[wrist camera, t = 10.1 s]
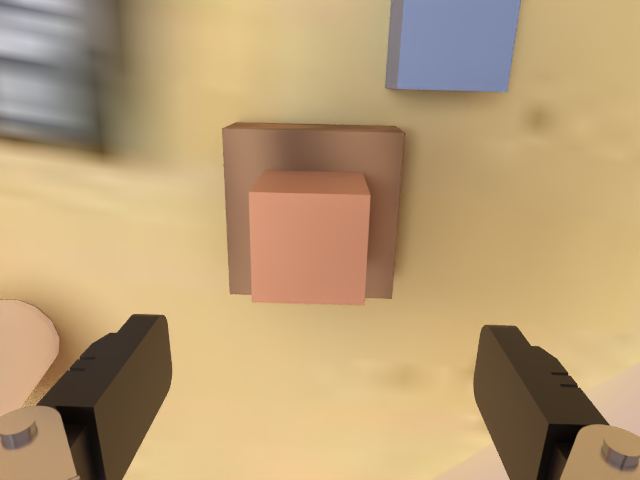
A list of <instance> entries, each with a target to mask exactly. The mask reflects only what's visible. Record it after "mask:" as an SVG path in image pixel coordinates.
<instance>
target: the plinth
mask: <svg viewBox="0 0 640 480" xmlns="http://www.w3.org/2000/svg"><path fill="white" fill-rule="evenodd" d="M222 136H223V157H224V179H225V200H226V222H227V243H228V265H229V286H230V294H243V295H252V288H251V255H250V221H249V191H250V189H251V188H252V187H253V185H254V184H255V183H256V181H257V180H258V179H259V177H260V176H261V175H262V173H263V172H264V171H265V170H283V171H324V172H363V175H364V178H365V181H366V183H367V186H368V189H369V192H370V195H371V197H370V215H369V232H368V250H367V267H366V285H365V298H384V299H392V290H393V278H394V265H395V252H396V239H397V226H398V213H399V201H400V188H401V175H402V162H403V149H404V137H405V133H404V132H403V131H401V130H400V129H398V128H397V127H396V126H365V125H321V124H278V123H234V124H232V125H229V126H227V127H225V128H222Z"/></svg>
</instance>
